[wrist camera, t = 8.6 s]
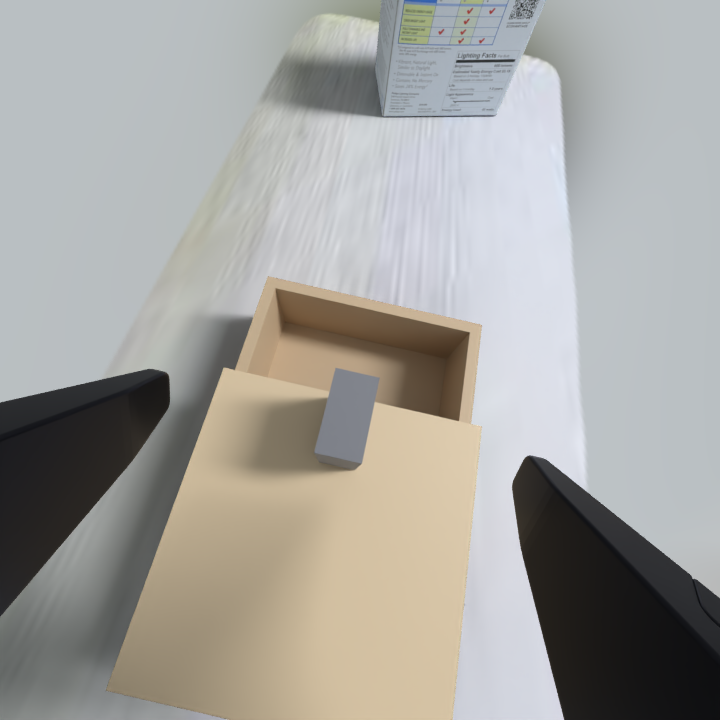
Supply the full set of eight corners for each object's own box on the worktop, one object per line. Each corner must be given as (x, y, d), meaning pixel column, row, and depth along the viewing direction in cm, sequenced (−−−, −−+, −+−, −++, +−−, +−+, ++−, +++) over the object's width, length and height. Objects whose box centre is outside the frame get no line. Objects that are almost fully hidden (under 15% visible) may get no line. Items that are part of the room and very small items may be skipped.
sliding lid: (442, 759, 13) (501, 904, 9) (115, 681, 14) (-1, 785, 9) (477, 428, 18) (529, 406, 13) (227, 371, 18) (189, 328, 13)
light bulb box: (482, 67, 35) (543, -107, 25) (498, 118, 33) (573, -49, 22) (371, 67, 34) (387, -115, 24) (380, 120, 32) (403, -55, 21)
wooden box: (427, 551, 20) (454, 569, 16) (219, 503, 21) (186, 506, 16) (453, 355, 25) (482, 325, 20) (280, 316, 25) (267, 276, 20)
